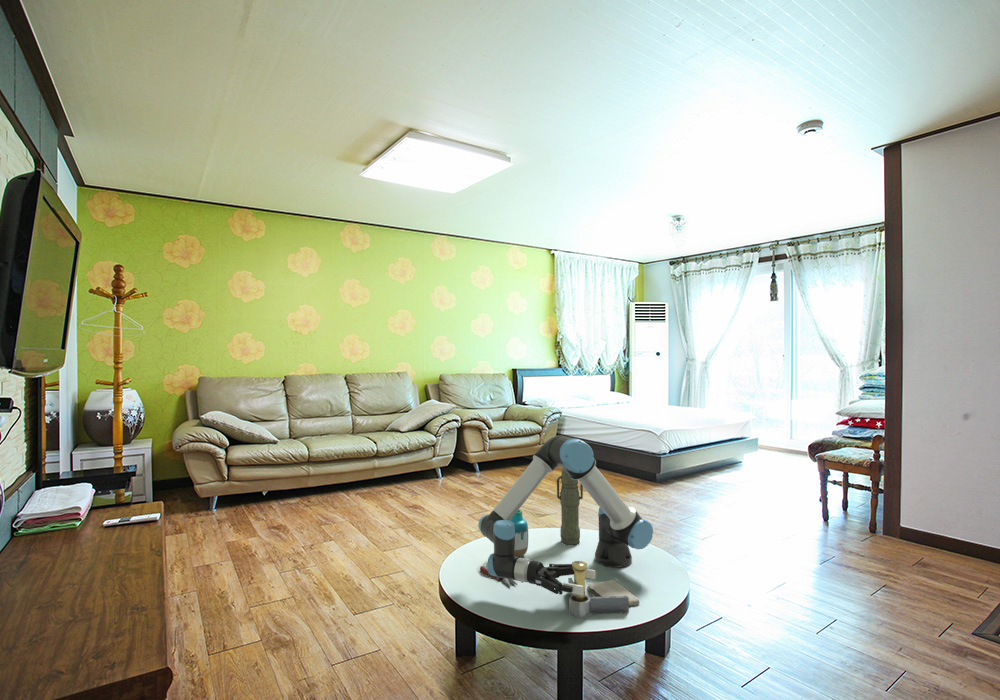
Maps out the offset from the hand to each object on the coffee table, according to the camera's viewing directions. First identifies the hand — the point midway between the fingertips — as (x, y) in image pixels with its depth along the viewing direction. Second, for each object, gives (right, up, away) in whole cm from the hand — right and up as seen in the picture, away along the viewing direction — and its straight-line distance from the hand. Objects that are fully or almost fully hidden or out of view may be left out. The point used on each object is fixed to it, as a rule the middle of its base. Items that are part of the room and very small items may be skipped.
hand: (589, 582), depth 170 cm
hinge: (+3, -11, +8) cm, 14 cm away
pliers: (-30, -13, +31) cm, 45 cm away
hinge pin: (-3, -11, +1) cm, 11 cm away
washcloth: (+10, -12, +14) cm, 21 cm away
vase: (-22, -12, +53) cm, 59 cm away
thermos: (+3, -13, +69) cm, 70 cm away
